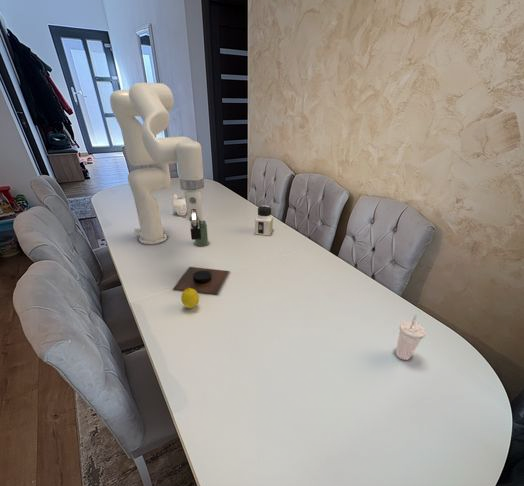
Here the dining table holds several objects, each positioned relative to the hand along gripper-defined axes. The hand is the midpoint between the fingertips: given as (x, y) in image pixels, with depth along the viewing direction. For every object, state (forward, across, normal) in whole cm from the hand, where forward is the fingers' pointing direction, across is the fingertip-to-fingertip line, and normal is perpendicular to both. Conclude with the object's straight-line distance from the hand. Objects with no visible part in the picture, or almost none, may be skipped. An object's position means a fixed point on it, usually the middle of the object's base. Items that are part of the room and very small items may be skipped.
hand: (196, 233), depth 107 cm
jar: (+19, +30, -1) cm, 36 cm away
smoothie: (+17, -50, -55) cm, 76 cm away
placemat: (+18, -3, -1) cm, 18 cm away
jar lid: (+16, -2, -1) cm, 16 cm away
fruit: (+18, -19, +3) cm, 27 cm away
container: (+19, +40, -32) cm, 55 cm away
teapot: (+20, +71, +10) cm, 75 cm away
